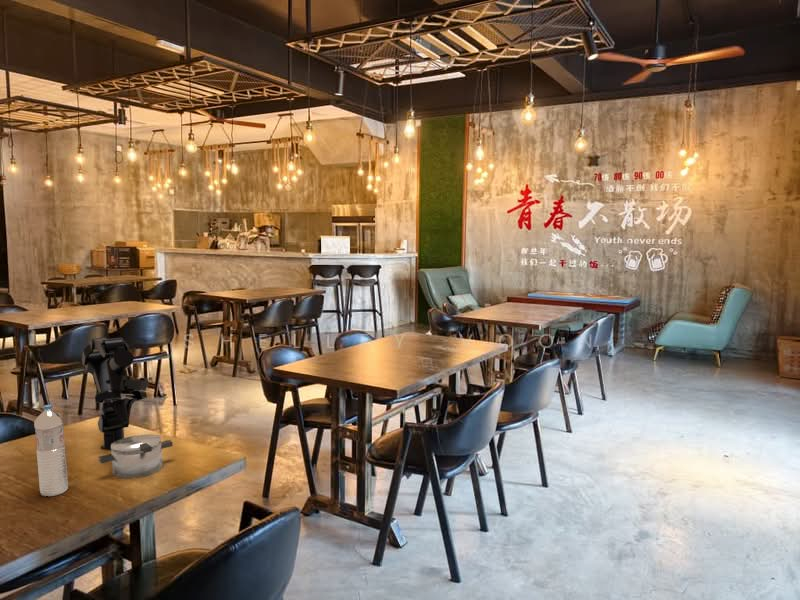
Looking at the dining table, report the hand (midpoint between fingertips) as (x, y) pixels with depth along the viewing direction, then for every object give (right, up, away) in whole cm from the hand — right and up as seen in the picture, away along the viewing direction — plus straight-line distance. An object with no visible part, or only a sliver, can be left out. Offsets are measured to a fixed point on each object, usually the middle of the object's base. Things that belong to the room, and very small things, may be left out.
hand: (126, 422), depth 182 cm
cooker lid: (+8, -5, -8) cm, 13 cm away
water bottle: (-10, -15, -21) cm, 28 cm away
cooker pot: (+6, -13, -6) cm, 16 cm away
